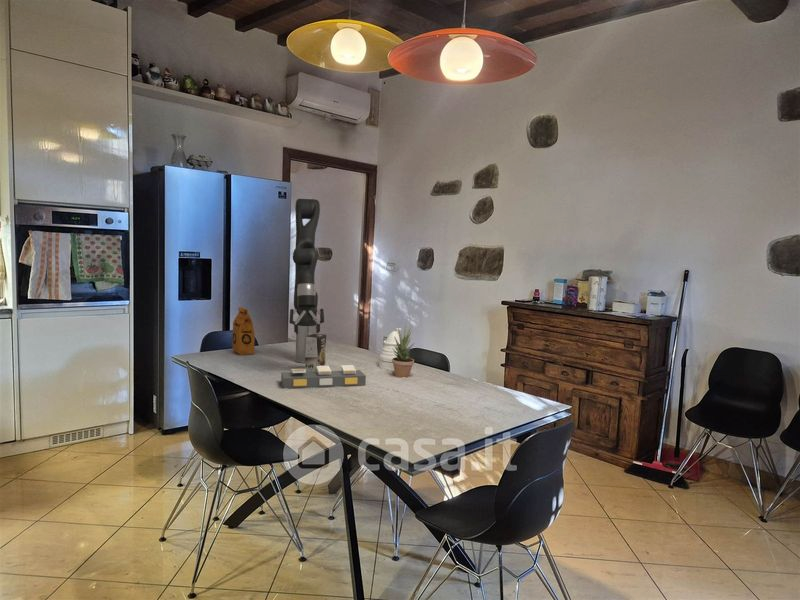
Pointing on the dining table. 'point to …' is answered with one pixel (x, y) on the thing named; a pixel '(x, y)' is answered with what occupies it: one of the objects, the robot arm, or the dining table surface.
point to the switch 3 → (348, 369)
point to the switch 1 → (298, 370)
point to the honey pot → (389, 350)
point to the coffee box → (315, 351)
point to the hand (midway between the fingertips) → (307, 333)
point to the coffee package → (243, 333)
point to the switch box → (321, 379)
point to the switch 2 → (323, 370)
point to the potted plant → (403, 356)
